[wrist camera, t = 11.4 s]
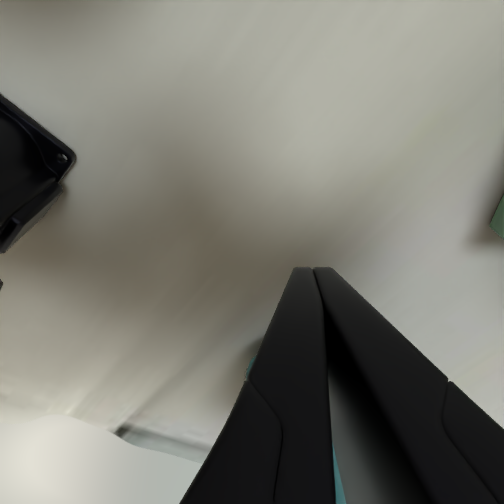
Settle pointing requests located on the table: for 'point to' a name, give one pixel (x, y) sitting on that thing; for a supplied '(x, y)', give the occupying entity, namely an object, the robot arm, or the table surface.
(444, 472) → the robot arm
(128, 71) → the table surface
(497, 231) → the kettle base
